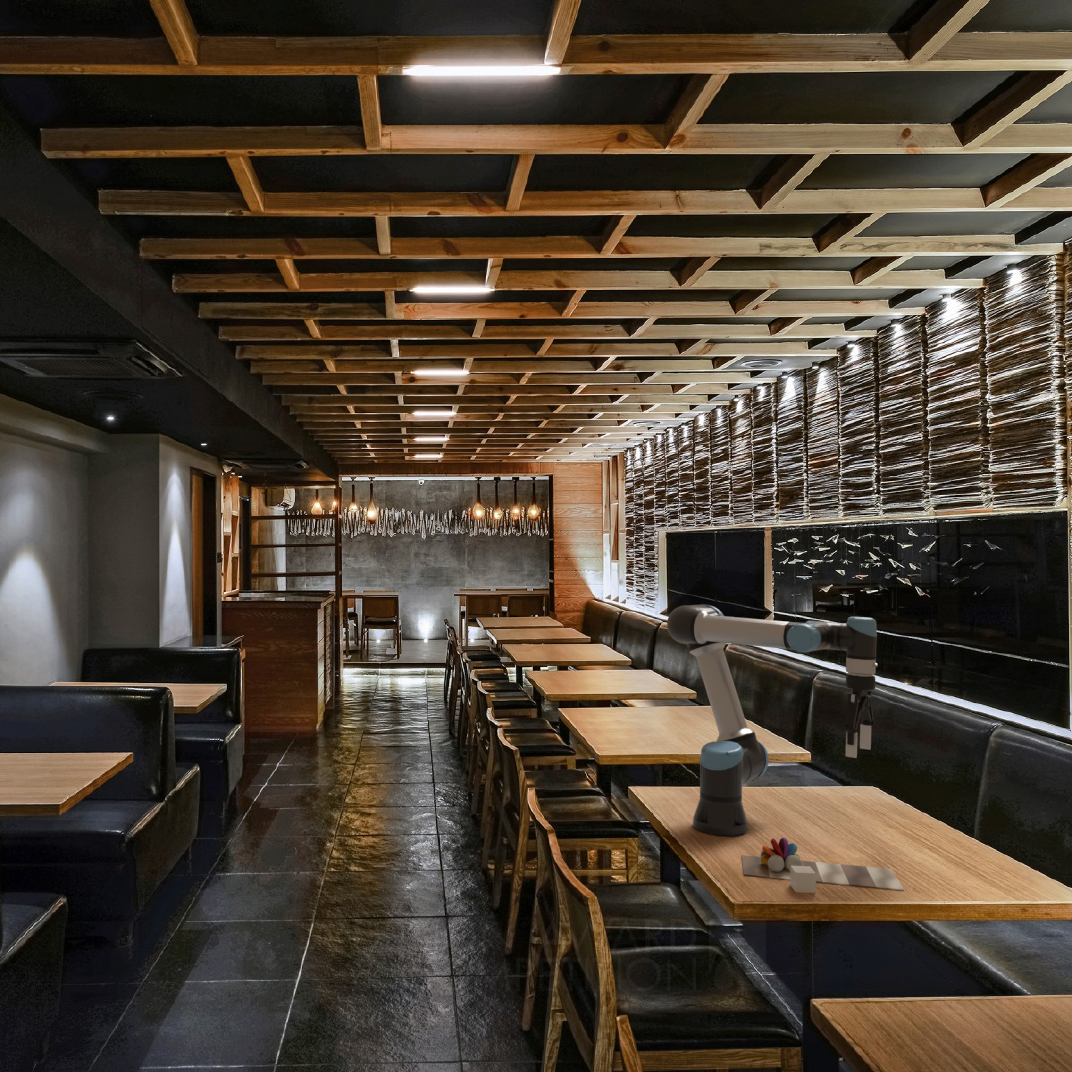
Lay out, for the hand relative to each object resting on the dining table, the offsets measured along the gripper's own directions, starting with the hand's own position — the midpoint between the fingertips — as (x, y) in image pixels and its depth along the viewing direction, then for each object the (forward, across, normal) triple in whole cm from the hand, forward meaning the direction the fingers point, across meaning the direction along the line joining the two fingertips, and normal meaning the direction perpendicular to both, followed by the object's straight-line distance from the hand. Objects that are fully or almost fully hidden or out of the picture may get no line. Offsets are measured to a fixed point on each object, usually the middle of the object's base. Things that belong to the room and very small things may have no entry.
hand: (858, 752), depth 231 cm
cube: (+24, -42, 0) cm, 49 cm away
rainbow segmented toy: (+24, -33, +9) cm, 42 cm away
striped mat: (+24, -29, +1) cm, 38 cm away
